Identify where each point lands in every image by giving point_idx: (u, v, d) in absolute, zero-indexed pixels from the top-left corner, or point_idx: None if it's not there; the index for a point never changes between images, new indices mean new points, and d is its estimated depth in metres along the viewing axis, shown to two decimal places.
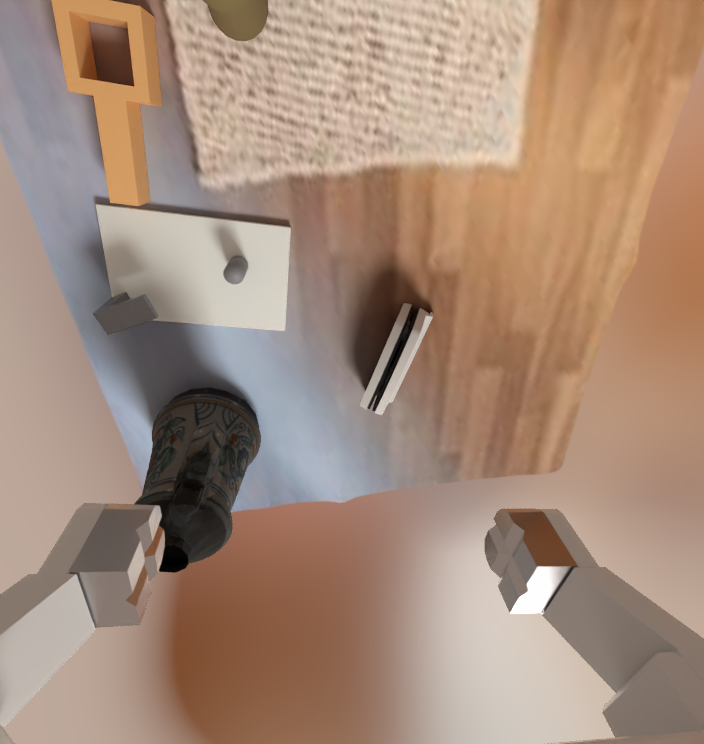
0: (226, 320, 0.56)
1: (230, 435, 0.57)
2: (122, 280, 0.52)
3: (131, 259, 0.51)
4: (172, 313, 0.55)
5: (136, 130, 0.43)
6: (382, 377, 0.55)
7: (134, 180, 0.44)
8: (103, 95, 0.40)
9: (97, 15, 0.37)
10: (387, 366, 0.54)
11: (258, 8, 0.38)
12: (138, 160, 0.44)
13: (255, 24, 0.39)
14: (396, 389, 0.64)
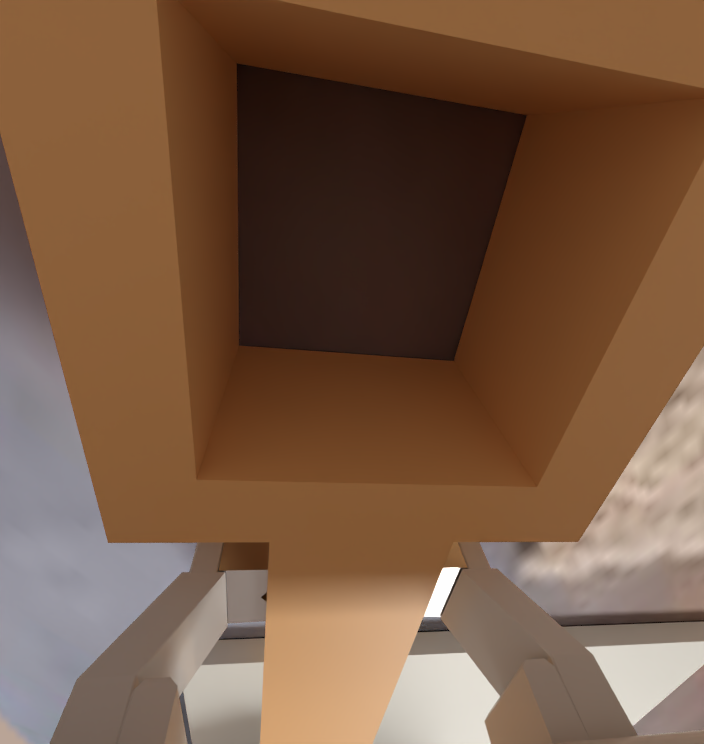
0: None
1: None
2: None
3: None
4: None
5: None
6: None
7: (374, 726, 0.10)
8: (333, 535, 0.06)
9: (469, 34, 0.03)
10: None
11: None
12: None
13: None
14: None
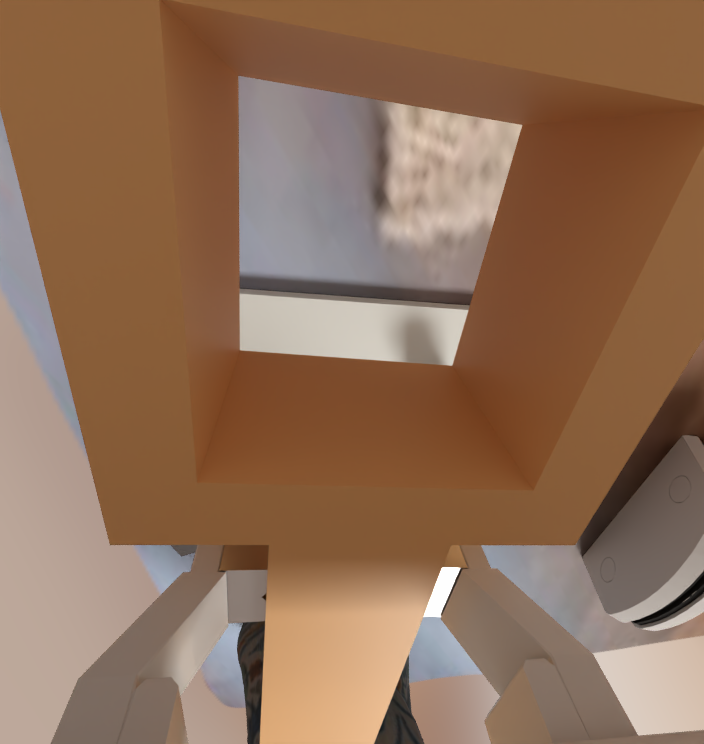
0: None
1: None
2: None
3: None
4: None
5: None
6: (680, 593, 0.29)
7: (374, 731, 0.10)
8: (332, 538, 0.06)
9: (461, 52, 0.03)
10: (696, 579, 0.29)
11: None
12: None
13: None
14: None
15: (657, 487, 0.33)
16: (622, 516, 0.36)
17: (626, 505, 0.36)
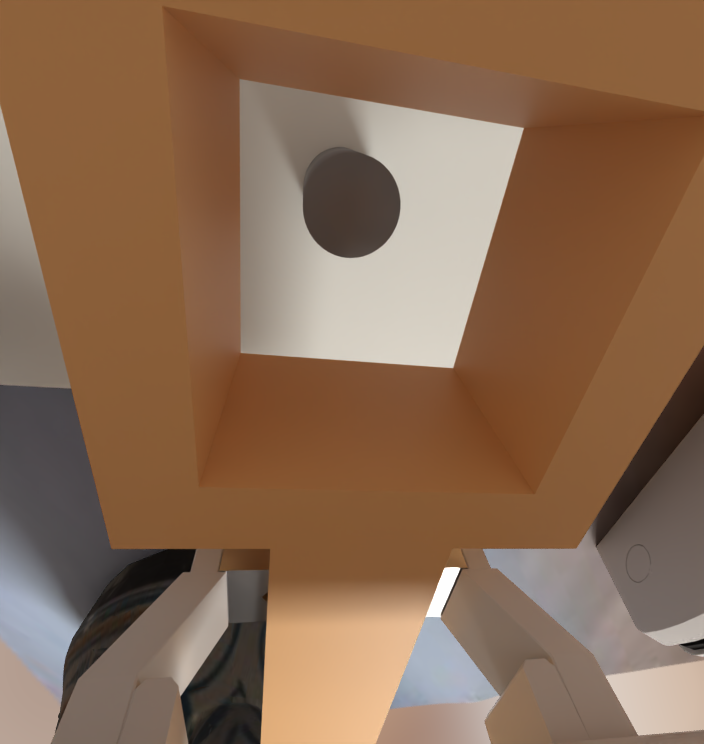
0: None
1: None
2: None
3: None
4: None
5: None
6: None
7: (375, 733, 0.10)
8: (333, 542, 0.06)
9: (464, 59, 0.03)
10: None
11: None
12: None
13: None
14: None
15: None
16: (658, 482, 0.24)
17: (664, 466, 0.24)
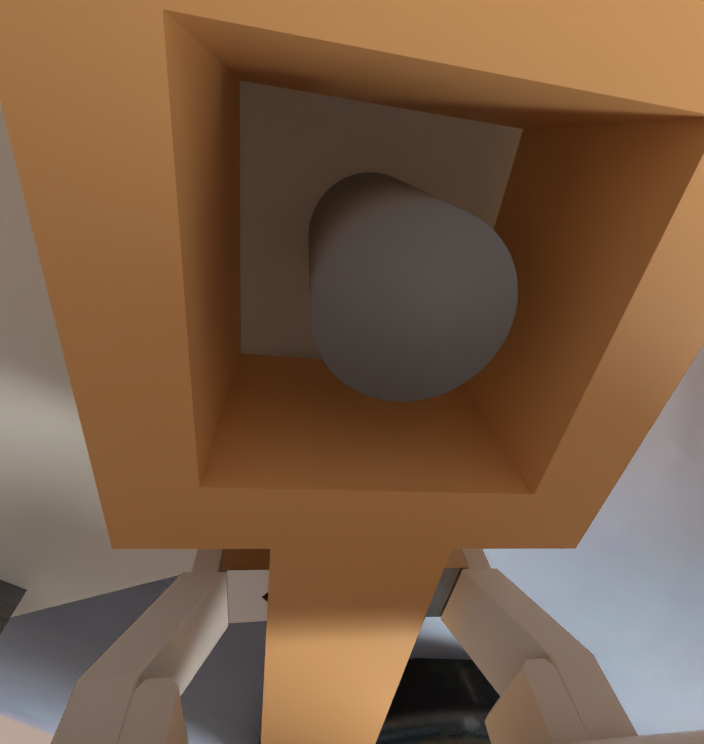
0: None
1: None
2: None
3: None
4: (149, 554, 0.13)
5: None
6: None
7: (375, 733, 0.10)
8: (333, 542, 0.06)
9: (463, 62, 0.03)
10: None
11: None
12: None
13: None
14: None
15: None
16: None
17: None
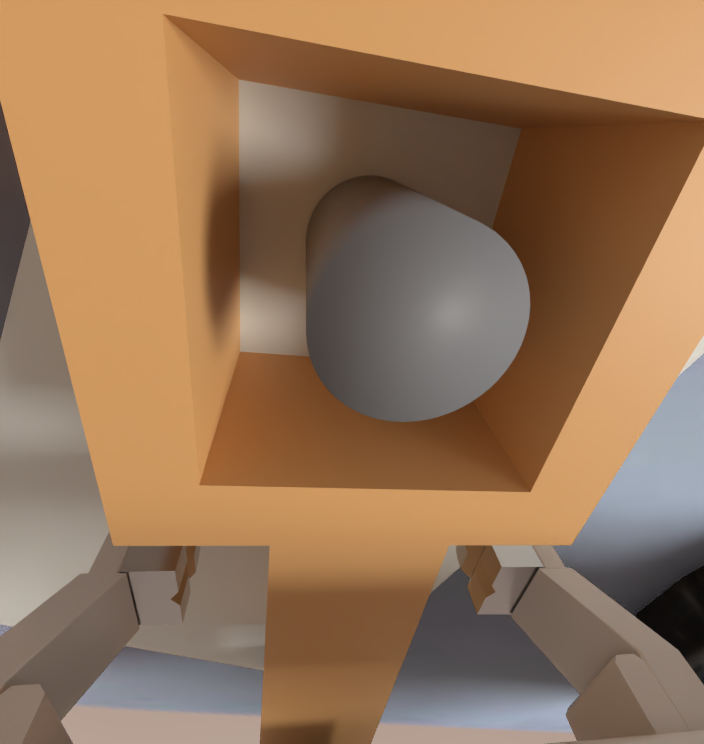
0: None
1: None
2: (230, 640, 0.15)
3: None
4: None
5: None
6: None
7: (373, 726, 0.10)
8: (332, 539, 0.06)
9: (460, 66, 0.03)
10: None
11: None
12: None
13: None
14: None
15: None
16: None
17: None
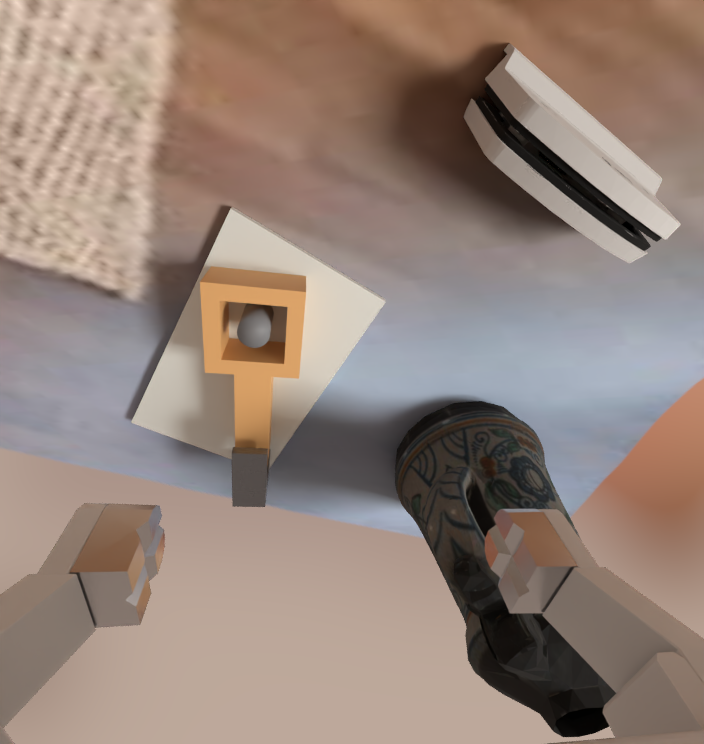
0: (328, 368, 0.38)
1: (479, 466, 0.36)
2: (227, 444, 0.41)
3: (205, 423, 0.40)
4: (288, 419, 0.40)
5: None
6: (596, 213, 0.26)
7: (267, 444, 0.37)
8: (246, 373, 0.33)
9: (252, 302, 0.30)
10: (577, 198, 0.25)
11: None
12: (270, 417, 0.37)
13: None
14: (639, 165, 0.30)
15: None
16: None
17: None
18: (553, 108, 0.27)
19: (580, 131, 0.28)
